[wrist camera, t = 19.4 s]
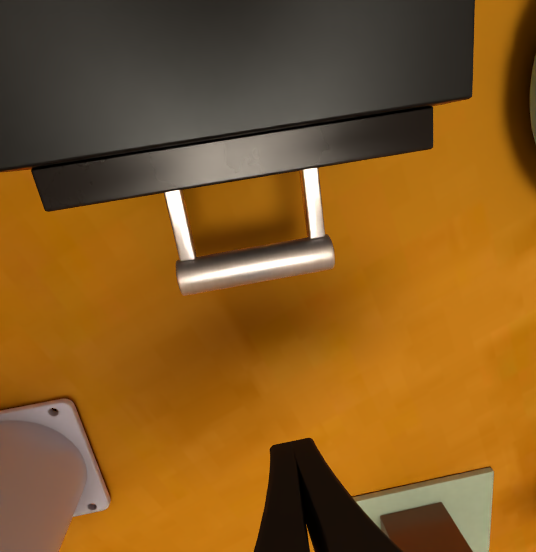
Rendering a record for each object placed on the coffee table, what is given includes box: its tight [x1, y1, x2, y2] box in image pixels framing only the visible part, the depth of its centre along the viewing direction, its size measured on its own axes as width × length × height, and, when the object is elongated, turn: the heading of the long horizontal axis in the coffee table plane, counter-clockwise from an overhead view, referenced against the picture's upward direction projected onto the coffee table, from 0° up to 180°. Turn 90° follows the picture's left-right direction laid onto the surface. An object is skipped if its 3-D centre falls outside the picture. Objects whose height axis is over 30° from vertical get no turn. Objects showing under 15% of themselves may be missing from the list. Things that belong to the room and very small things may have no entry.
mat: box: [352, 467, 494, 552], centre depth 27 cm, size 12×10×1 cm
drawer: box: [31, 106, 433, 296], centre depth 13 cm, size 18×11×7 cm, turn 9°
